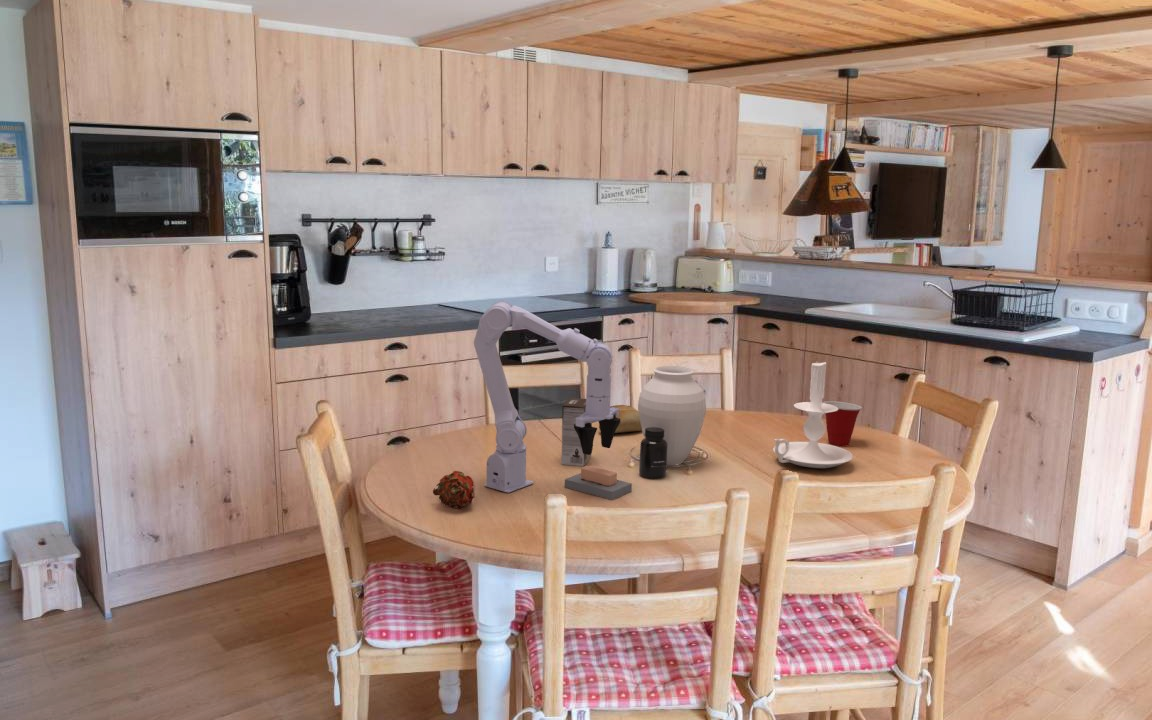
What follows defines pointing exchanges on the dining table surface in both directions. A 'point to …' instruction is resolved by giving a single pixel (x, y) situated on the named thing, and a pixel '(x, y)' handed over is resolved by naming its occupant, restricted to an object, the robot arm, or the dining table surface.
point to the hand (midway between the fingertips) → (596, 450)
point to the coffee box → (572, 433)
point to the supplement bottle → (653, 454)
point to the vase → (673, 409)
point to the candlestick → (813, 430)
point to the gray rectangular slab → (598, 487)
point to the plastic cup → (841, 422)
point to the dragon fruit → (455, 490)
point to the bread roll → (627, 419)
